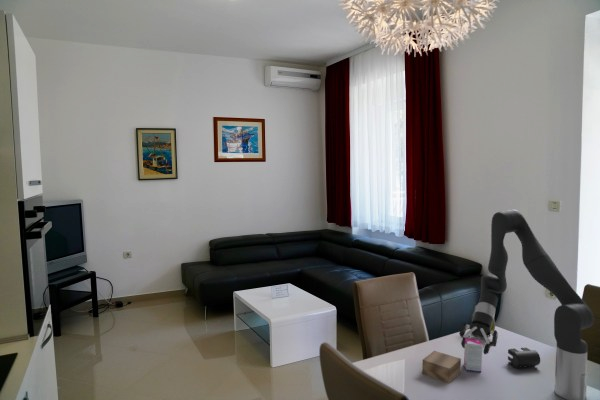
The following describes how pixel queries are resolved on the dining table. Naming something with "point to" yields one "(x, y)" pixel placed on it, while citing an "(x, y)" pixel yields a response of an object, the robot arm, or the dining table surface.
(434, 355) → the walnut block
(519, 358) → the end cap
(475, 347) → the supplement box
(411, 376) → the dining table surface
